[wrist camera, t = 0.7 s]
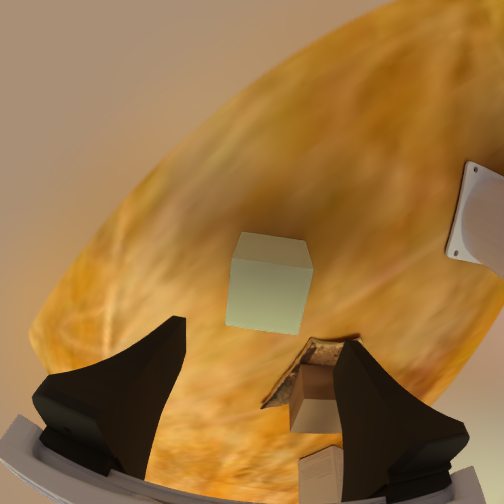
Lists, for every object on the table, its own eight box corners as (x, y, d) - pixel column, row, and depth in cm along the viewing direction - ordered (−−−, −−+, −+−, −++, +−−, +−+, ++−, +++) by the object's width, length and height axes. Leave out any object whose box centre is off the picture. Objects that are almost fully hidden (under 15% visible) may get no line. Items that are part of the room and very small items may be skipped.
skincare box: (315, 466, 32) (318, 535, 20) (296, 458, 31) (296, 533, 19) (351, 451, 30) (361, 524, 18) (333, 442, 29) (341, 523, 17)
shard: (260, 399, 27) (260, 411, 25) (237, 347, 25) (234, 360, 23) (363, 377, 25) (367, 389, 24) (357, 319, 23) (362, 331, 21)
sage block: (305, 240, 20) (314, 269, 15) (293, 295, 22) (297, 335, 17) (242, 231, 20) (231, 257, 15) (235, 287, 22) (224, 325, 17)
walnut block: (354, 367, 22) (364, 399, 19) (338, 401, 24) (343, 433, 21) (300, 364, 23) (303, 398, 19) (289, 399, 24) (290, 432, 21)
